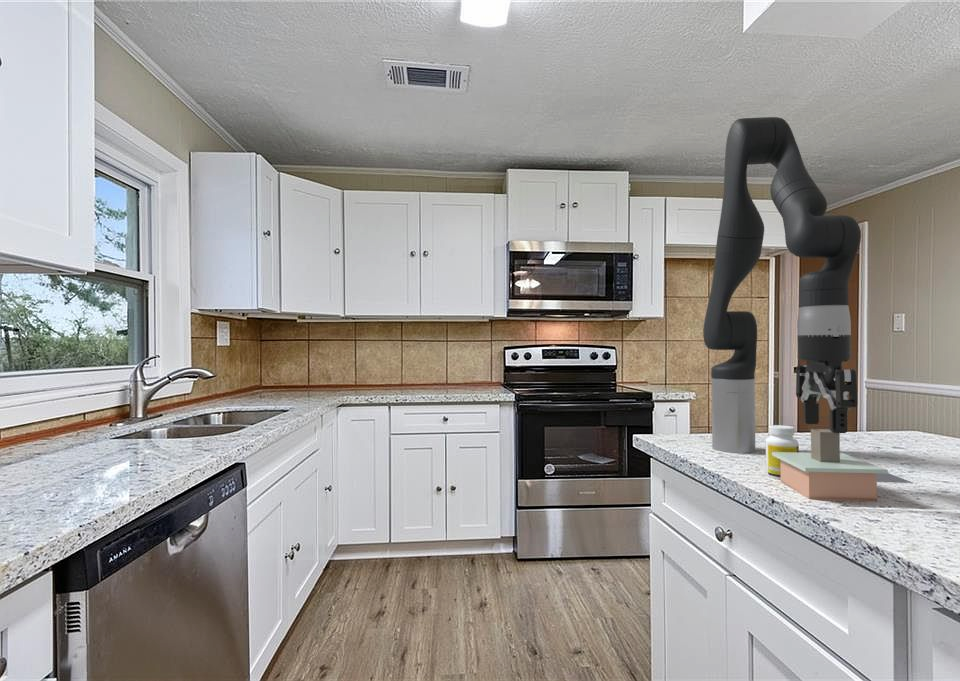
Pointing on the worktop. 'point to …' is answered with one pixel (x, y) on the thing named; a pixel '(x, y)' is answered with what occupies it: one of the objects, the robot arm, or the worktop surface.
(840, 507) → the worktop surface
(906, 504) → the worktop surface
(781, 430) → the supplement bottle
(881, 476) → the mat
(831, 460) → the lid
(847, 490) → the dish
